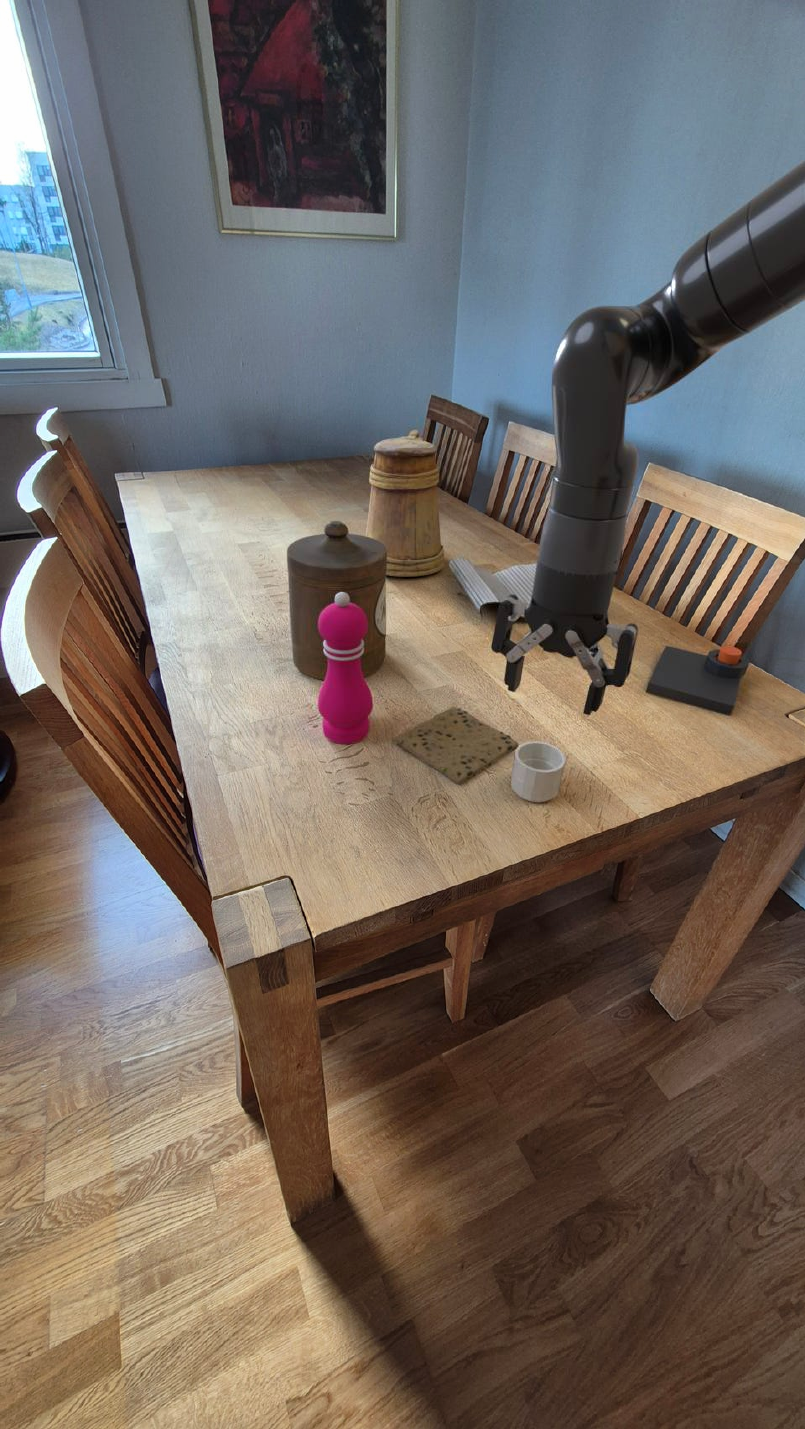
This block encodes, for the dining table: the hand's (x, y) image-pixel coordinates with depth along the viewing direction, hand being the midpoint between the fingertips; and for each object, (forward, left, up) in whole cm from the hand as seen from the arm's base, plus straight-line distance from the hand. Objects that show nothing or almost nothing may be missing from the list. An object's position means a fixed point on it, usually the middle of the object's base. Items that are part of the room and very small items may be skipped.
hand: (550, 699), depth 68 cm
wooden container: (+38, -14, -13) cm, 43 cm away
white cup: (0, 0, -13) cm, 13 cm away
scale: (-13, -37, -13) cm, 41 cm away
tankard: (+51, -58, -13) cm, 78 cm away
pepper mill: (+26, +2, -13) cm, 29 cm away
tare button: (-17, -41, -10) cm, 45 cm away
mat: (+22, -53, -13) cm, 59 cm away
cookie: (+12, -3, -13) cm, 18 cm away
